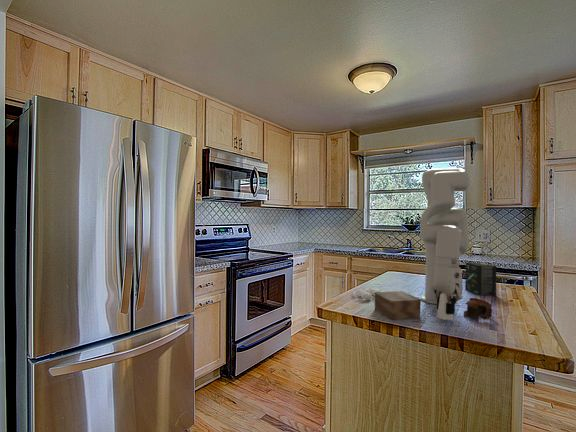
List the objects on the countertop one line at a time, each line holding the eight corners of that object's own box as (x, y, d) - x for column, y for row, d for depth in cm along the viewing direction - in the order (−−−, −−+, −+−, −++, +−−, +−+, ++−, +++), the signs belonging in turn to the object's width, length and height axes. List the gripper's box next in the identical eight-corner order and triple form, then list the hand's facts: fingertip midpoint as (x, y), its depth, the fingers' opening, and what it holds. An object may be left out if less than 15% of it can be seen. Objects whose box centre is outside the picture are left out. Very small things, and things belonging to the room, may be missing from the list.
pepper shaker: (451, 321, 108) (452, 290, 107) (434, 317, 111) (435, 287, 111) (455, 317, 112) (456, 287, 111) (439, 313, 115) (440, 284, 115)
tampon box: (496, 295, 150) (497, 265, 150) (477, 295, 150) (478, 265, 150) (482, 290, 161) (483, 262, 161) (464, 289, 161) (465, 261, 161)
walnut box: (401, 307, 127) (401, 291, 127) (420, 318, 115) (421, 299, 115) (374, 309, 124) (374, 292, 124) (391, 320, 112) (391, 301, 112)
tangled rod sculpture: (351, 293, 155) (351, 284, 155) (381, 292, 153) (380, 283, 153) (354, 303, 136) (354, 293, 136) (388, 302, 134) (387, 292, 134)
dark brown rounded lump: (456, 315, 121) (462, 295, 123) (477, 326, 121) (483, 306, 123) (478, 317, 109) (484, 296, 111) (501, 329, 109) (507, 308, 111)
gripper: (474, 265, 103) (472, 319, 104) (439, 257, 120) (437, 303, 120) (456, 266, 102) (454, 321, 102) (422, 257, 118) (421, 304, 119)
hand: (445, 311), depth 111 cm, fingers closed on pepper shaker, 3 cm apart
